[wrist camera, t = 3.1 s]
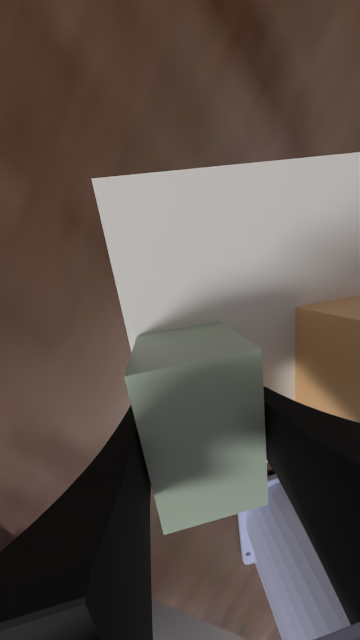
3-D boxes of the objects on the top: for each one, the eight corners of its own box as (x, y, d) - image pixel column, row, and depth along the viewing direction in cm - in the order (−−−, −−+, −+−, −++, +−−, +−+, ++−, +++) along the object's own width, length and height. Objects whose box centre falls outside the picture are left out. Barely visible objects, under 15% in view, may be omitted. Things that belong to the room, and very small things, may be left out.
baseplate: (438, 409, 16) (450, 414, 16) (163, 481, 14) (163, 491, 13) (499, 143, 12) (521, 135, 11) (95, 184, 9) (90, 177, 8)
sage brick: (230, 428, 13) (268, 504, 9) (160, 445, 12) (163, 534, 8) (219, 320, 11) (261, 348, 7) (136, 336, 11) (124, 376, 6)
